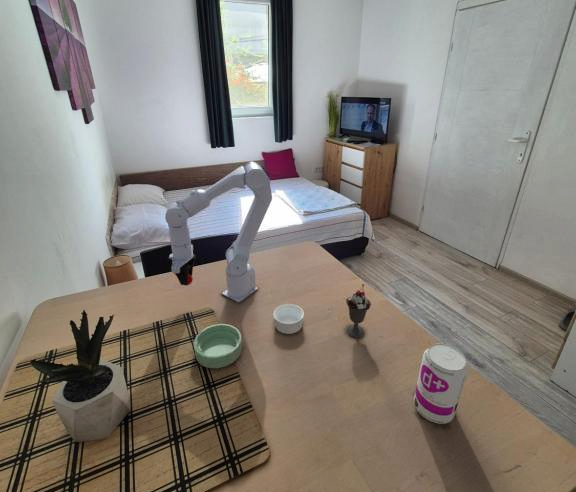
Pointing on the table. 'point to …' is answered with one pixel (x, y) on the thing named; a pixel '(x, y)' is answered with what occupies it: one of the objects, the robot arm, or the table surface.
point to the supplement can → (440, 383)
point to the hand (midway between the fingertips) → (186, 280)
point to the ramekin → (288, 318)
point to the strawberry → (190, 279)
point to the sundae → (357, 312)
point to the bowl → (218, 346)
